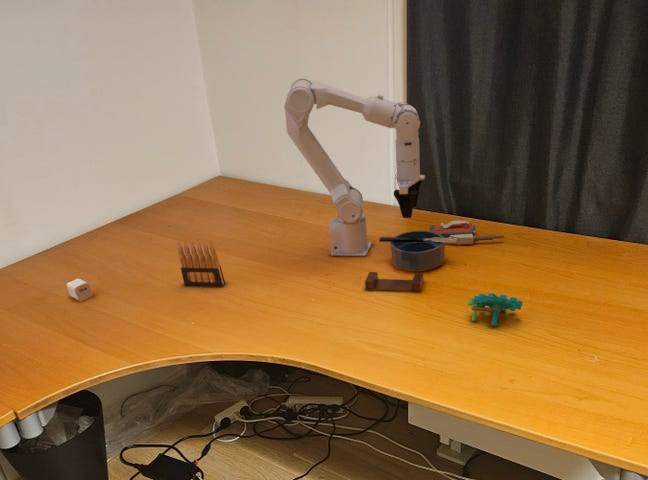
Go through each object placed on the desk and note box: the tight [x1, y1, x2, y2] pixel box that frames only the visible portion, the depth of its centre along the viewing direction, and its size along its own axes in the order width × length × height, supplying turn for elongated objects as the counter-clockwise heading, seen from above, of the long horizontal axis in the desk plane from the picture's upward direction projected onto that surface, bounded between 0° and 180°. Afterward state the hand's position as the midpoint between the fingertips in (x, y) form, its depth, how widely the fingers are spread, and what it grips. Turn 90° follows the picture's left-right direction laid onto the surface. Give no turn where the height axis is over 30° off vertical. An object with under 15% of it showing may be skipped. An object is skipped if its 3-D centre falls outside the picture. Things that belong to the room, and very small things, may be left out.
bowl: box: [390, 230, 446, 272], centre depth 154 cm, size 13×13×6 cm
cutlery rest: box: [364, 271, 425, 293], centre depth 145 cm, size 13×5×2 cm, turn 75°
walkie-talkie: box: [428, 219, 505, 245], centre depth 162 cm, size 9×4×20 cm
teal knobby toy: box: [467, 292, 524, 327], centre depth 127 cm, size 11×6×10 cm
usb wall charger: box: [66, 278, 94, 302], centre depth 158 cm, size 4×7×4 cm, turn 47°
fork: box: [379, 236, 457, 245], centre depth 152 cm, size 19×2×1 cm, turn 75°
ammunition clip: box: [176, 240, 226, 288], centre depth 153 cm, size 11×2×12 cm, turn 75°
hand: (409, 211), depth 158 cm, fingers open, 7 cm apart
